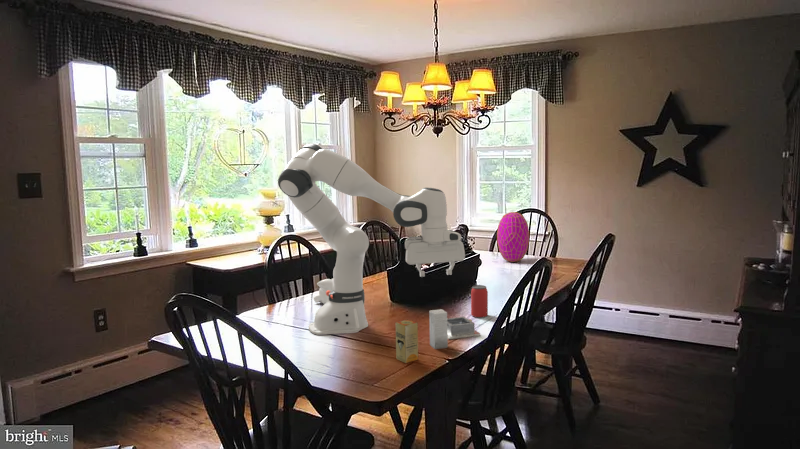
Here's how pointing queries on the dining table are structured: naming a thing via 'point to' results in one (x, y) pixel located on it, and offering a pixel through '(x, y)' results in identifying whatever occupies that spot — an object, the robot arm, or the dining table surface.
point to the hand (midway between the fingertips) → (435, 275)
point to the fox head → (324, 290)
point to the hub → (460, 328)
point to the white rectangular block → (438, 328)
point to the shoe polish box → (407, 341)
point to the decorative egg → (513, 236)
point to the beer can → (479, 301)
